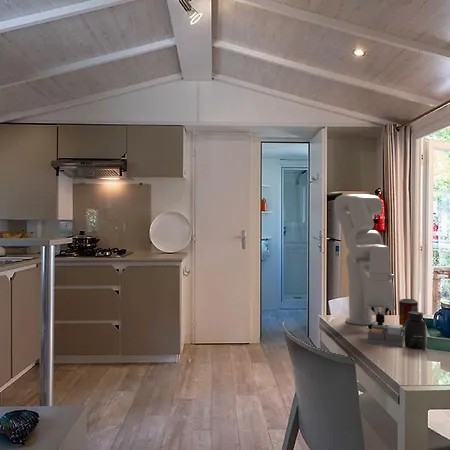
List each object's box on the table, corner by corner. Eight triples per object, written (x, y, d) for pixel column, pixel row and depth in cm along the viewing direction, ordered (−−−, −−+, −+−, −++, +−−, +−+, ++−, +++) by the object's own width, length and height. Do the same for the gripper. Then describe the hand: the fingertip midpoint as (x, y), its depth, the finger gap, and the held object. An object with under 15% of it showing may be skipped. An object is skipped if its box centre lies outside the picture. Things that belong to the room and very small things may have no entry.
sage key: (375, 329, 173) (375, 322, 173) (386, 330, 171) (386, 323, 171) (374, 331, 169) (374, 325, 169) (385, 332, 167) (385, 325, 167)
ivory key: (391, 330, 170) (391, 324, 170) (402, 331, 168) (402, 325, 168) (390, 332, 166) (390, 326, 166) (402, 333, 165) (401, 327, 165)
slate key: (389, 331, 161) (389, 324, 161) (400, 332, 159) (400, 325, 159) (388, 334, 157) (387, 327, 157) (399, 335, 156) (399, 328, 156)
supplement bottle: (417, 350, 148) (416, 315, 148) (400, 345, 154) (400, 311, 154) (430, 347, 151) (430, 313, 151) (413, 343, 157) (413, 309, 157)
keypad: (373, 331, 176) (373, 322, 176) (406, 334, 170) (406, 325, 170) (366, 343, 158) (366, 333, 158) (402, 346, 152) (402, 337, 152)
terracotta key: (372, 334, 164) (372, 328, 164) (383, 335, 162) (383, 329, 162) (370, 337, 160) (370, 330, 160) (382, 338, 158) (382, 331, 158)
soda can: (421, 330, 177) (421, 299, 177) (412, 332, 172) (412, 301, 173) (405, 327, 182) (404, 297, 182) (396, 329, 178) (395, 299, 178)
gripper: (401, 276, 170) (401, 324, 170) (361, 275, 177) (361, 321, 176) (399, 279, 163) (400, 328, 163) (358, 277, 170) (358, 324, 170)
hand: (380, 324), depth 170 cm, fingers closed
